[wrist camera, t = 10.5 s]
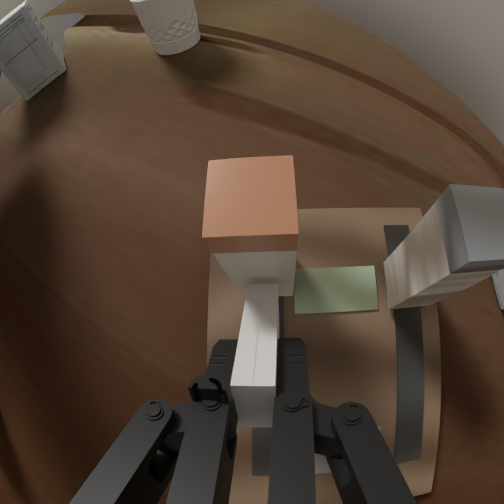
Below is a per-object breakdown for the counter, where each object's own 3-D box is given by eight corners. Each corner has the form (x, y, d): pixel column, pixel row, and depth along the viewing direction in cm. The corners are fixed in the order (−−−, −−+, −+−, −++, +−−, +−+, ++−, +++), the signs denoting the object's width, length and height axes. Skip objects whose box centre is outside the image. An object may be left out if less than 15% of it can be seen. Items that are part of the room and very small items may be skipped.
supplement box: (64, 55, 41) (29, -3, 25) (67, 70, 38) (26, 3, 22) (26, 84, 40) (-13, 30, 24) (25, 103, 37) (-22, 42, 21)
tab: (292, 295, 19) (298, 233, 10) (242, 297, 20) (201, 237, 10) (291, 248, 20) (292, 155, 11) (243, 250, 21) (208, 160, 11)
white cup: (215, 38, 34) (201, -21, 25) (167, 64, 33) (144, 4, 23) (186, 27, 36) (171, -24, 27) (143, 50, 35) (121, -1, 26)
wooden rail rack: (423, 485, 15) (506, 548, 3) (213, 501, 16) (153, 594, 5) (413, 216, 22) (482, 117, 11) (216, 221, 24) (164, 112, 13)
